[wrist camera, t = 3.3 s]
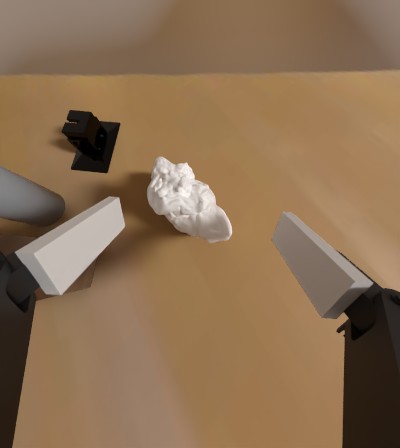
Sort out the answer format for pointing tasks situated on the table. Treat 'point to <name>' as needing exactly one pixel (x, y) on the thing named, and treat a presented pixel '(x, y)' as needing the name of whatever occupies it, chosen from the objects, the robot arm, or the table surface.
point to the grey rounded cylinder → (28, 200)
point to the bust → (186, 202)
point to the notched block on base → (91, 141)
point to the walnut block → (15, 242)
